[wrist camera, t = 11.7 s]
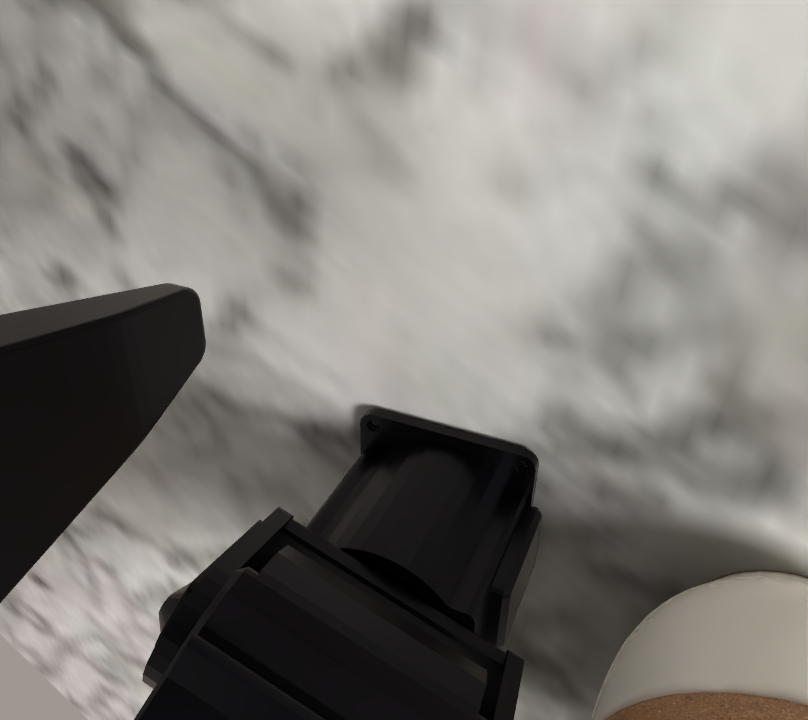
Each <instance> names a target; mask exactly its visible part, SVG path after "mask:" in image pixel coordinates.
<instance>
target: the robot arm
mask: <svg viewBox="0 0 808 720" xmlns="http://www.w3.org/2000/svg"><path fill="white" fill-rule="evenodd" d="M205 346H206V340H205V332H204V325H203V318H202V311H201V303H200V299H199V296H198V294H197V293H196V292H195V291H194V290H193V289H191V288H188V287H184V286H179V285H175V284H170V283H166V284H160V285H154V286H149V287H144V288H139V289H133V290H128V291H123V292H118V293H112V294H107V295H102V296H97V297H92V298H86V299H81V300H76V301H71V302H65V303H60V304H55V305H50V306H44V307H39V308H34V309H29V310H23V311H18V312H13V313H8V314H3V315H0V603H1V602H2V601H3V599H4V598H5V597H6V596H7V595H8V594H9V593H10V592H11V590H12V589H13V588H14V587H15V586H16V585H17V584H18V582H19V581H20V580H21V579H22V578H23V577H24V576H25V574H26V573H27V572H28V571H29V570H30V569H31V568H32V567H33V565H34V564H35V563H36V562H37V561H38V560H39V559H40V557H41V556H42V555H43V554H44V553H45V552H46V551H47V550H48V548H49V547H50V546H51V545H52V544H53V543H54V542H55V540H56V539H57V538H58V537H59V536H60V535H61V534H62V533H63V531H64V530H65V529H66V528H67V527H68V526H69V525H70V523H71V522H72V521H73V520H74V519H75V518H76V517H77V515H78V514H79V513H80V512H81V511H82V510H83V509H84V508H85V506H86V505H87V504H88V503H89V502H90V501H91V500H92V498H93V497H94V496H95V495H96V494H97V493H98V492H99V491H100V489H101V488H102V487H103V486H104V485H105V484H106V483H107V481H108V480H109V479H110V478H111V477H112V476H113V475H114V474H115V472H116V471H117V470H118V469H119V468H120V467H121V466H122V464H123V463H124V462H125V461H126V460H127V459H128V458H129V457H130V455H131V454H132V453H133V452H134V451H135V450H136V448H137V447H138V446H139V445H140V444H141V442H142V441H143V440H144V439H145V437H146V436H147V435H148V433H149V432H150V431H151V429H152V428H153V427H154V425H155V424H156V423H157V421H158V420H159V418H160V417H161V416H162V414H163V413H164V411H165V410H166V409H167V407H168V406H169V404H170V403H171V402H172V400H173V399H174V397H175V396H176V395H177V393H178V392H179V390H180V389H181V388H182V386H183V385H184V383H185V382H186V381H187V379H188V378H189V376H190V375H191V374H192V372H193V371H194V369H195V368H196V367H197V365H198V364H199V362H200V361H201V359H202V357H203V355H204V352H205ZM372 420H373V421H375V422H377V424H378V425H379V426H377V425H375V424H374V423H373V422H372ZM360 426H361V456H360V457H359V459H358V460H357V461H356V462H355V464H354V465H353V466H352V468H351V469H350V470H349V472H348V473H347V474H346V476H345V477H344V478H343V479H342V481H341V482H340V483H339V485H338V486H337V487H336V489H335V490H334V491H333V493H332V494H331V495H330V496H329V498H328V499H327V500H326V502H325V503H324V504H323V506H322V507H321V508H320V510H319V511H318V512H317V514H316V515H315V516H314V517H313V519H312V520H311V521H310V523H309V524H308V525H307V527H304V526H303V525H301V524H300V523H298V522H296V521H295V520H293V517H294V516H293V515H291V514H289V513H288V512H286V511H285V510H283V509H281V508H280V507H278V508H277V509H276V510H275V511H274V512H273V513H272V514H271V515H269V516H268V517H267V518H266V519H265V520H264V521H261V520H259V521H258V522H257V523H256V524H255V525H254V526H252V527H251V528H250V529H249V530H248V531H247V532H246V533H245V534H244V535H243V536H242V537H240V538H239V539H238V540H237V541H236V542H235V543H234V544H233V545H232V546H231V547H229V548H228V549H227V550H226V551H225V552H224V553H223V554H222V555H221V556H220V557H218V558H217V559H216V560H215V561H214V562H213V563H212V564H211V565H210V566H209V567H208V568H206V569H205V570H204V571H203V572H202V573H201V574H200V575H199V576H198V577H197V578H195V579H194V580H193V581H192V582H191V583H189V584H188V585H186V586H184V587H183V588H181V589H179V590H178V591H176V592H174V593H173V594H171V595H170V596H169V597H168V598H167V600H166V601H165V602H164V604H163V605H162V607H161V609H160V611H159V621H160V630H161V633H160V635H159V637H158V640H157V642H156V644H155V648H154V649H153V651H152V653H151V656H150V658H149V660H148V662H147V664H146V667H145V670H144V673H143V680H142V681H143V682H144V683H146V684H147V685H148V686H150V687H151V688H153V691H152V692H151V694H150V696H149V697H148V699H147V700H146V702H145V703H144V705H143V706H142V708H141V710H140V711H139V713H138V714H137V716H136V717H135V719H134V720H514V714H515V709H516V704H517V698H518V693H519V687H520V682H521V676H522V671H523V666H524V660H523V659H522V658H520V657H519V656H517V655H515V654H514V653H512V652H511V651H509V650H508V651H507V652H505V651H503V650H501V649H500V647H502V646H504V644H505V642H506V639H507V637H508V634H509V631H510V629H511V626H512V623H513V621H514V618H515V615H516V613H517V610H518V607H519V605H520V602H521V599H522V597H523V594H524V591H525V589H526V586H527V583H528V581H529V578H530V575H531V573H532V570H533V567H534V564H535V559H536V553H537V546H538V540H539V534H540V527H541V521H542V514H541V512H540V511H539V509H538V508H536V507H533V500H534V493H535V486H536V480H537V473H538V466H539V462H538V459H537V457H536V455H535V454H534V453H533V452H531V451H529V450H527V449H524V448H520V447H516V446H513V445H509V444H505V443H502V442H498V441H494V440H490V439H487V438H483V437H479V436H476V435H472V434H468V433H465V432H461V431H457V430H453V429H450V428H446V427H442V426H439V425H435V424H431V423H427V422H424V421H420V420H416V419H413V418H409V417H405V416H401V415H398V414H394V413H390V412H387V411H383V410H379V409H370V410H368V411H367V413H366V414H365V415H364V416H363V417H362V419H361V423H360ZM518 461H521V462H524V463H526V464H527V466H528V467H523V466H521V465H520V464H519V463H518Z"/></svg>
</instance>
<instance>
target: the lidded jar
mask: <svg viewBox="0 0 808 720" xmlns="http://www.w3.org/2000/svg"><path fill="white" fill-rule="evenodd" d="M591 720H808V578H805V577H802V576H798V575H794V574H788V573H782V572H770V571H753V572H742V573H737V574H731V575H728V576H725V577H722V578H719V579H716V580H714V581H712V582H708V583H705V584H702V585H699V586H696V587H693V588H689V589H687V590H685V591H683V592H681V593H679V594H677V595H675V596H673V597H672V598H670V599H669V600H667V601H665V602H664V603H662V604H661V605H660V606H658V607H657V608H656V609H654V610H653V611H652V612H650V613H649V614H648V615H647V616H646V617H645V618H644V619H643V620H642V621H641V623H640V624H639V625H638V626H637V627H636V628H635V629H634V630H633V632H632V633H631V634H630V635H629V636H628V637H627V638H626V640H625V642H624V643H623V645H622V647H621V648H620V650H619V652H618V654H617V655H616V657H615V659H614V661H613V663H612V665H611V667H610V669H609V671H608V673H607V675H606V677H605V680H604V682H603V685H602V687H601V689H600V692H599V694H598V697H597V700H596V704H595V707H594V711H593V714H592V717H591Z"/></svg>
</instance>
